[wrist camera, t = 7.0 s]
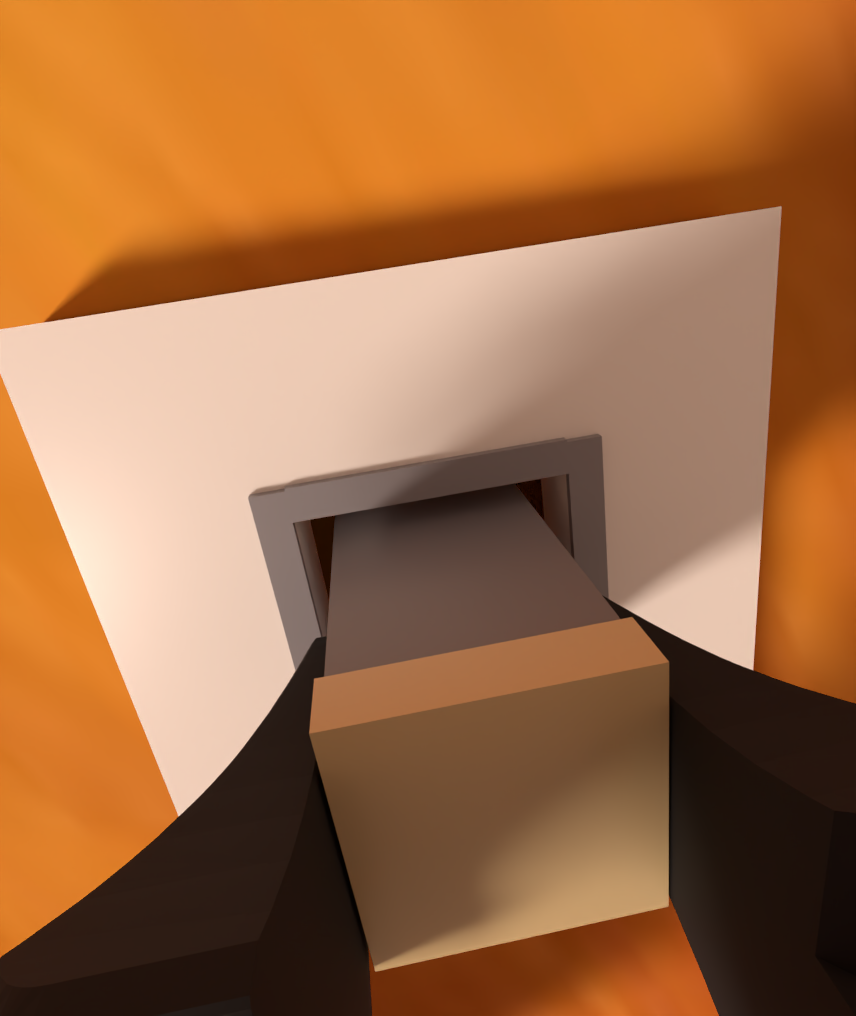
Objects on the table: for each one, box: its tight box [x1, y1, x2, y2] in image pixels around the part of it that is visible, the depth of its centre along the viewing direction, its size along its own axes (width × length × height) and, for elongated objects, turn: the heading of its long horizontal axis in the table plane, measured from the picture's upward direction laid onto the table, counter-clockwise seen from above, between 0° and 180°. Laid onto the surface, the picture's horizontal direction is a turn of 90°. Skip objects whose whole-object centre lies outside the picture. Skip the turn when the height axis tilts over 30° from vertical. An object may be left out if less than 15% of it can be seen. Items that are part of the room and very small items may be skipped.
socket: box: [0, 206, 782, 816], centre depth 14 cm, size 14×14×2 cm
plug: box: [309, 483, 669, 972], centre depth 11 cm, size 4×4×7 cm
